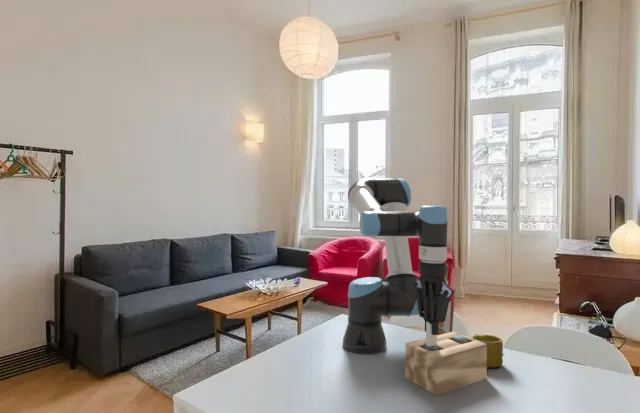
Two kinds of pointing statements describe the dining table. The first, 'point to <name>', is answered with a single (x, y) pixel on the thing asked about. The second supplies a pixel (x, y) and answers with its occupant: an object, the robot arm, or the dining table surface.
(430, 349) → the metal pin
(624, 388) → the dining table surface
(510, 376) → the dining table surface
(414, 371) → the oak block
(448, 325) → the liquor
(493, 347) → the mug
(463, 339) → the walnut peg
